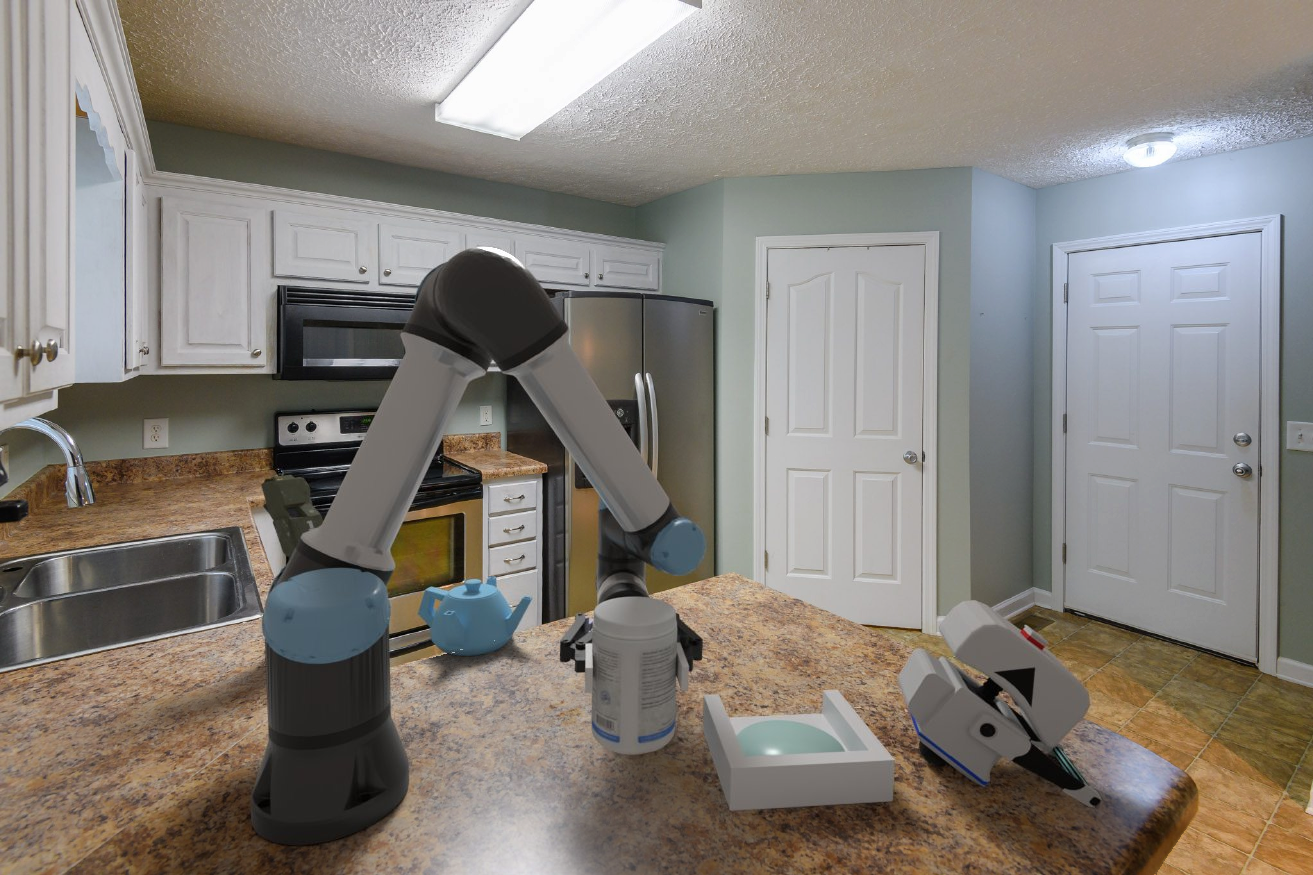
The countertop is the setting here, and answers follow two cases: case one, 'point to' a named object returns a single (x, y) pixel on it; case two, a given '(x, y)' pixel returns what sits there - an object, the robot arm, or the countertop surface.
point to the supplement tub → (634, 674)
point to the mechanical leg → (290, 509)
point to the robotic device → (995, 701)
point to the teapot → (471, 617)
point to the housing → (797, 757)
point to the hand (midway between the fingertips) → (637, 679)
